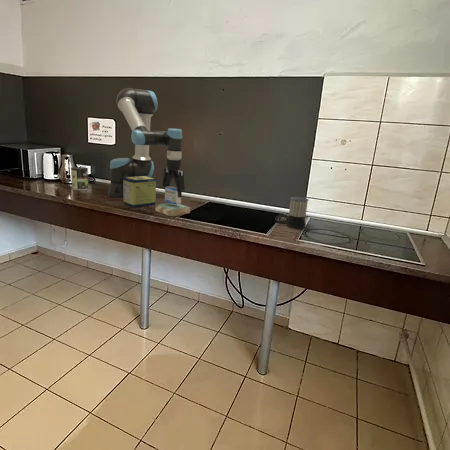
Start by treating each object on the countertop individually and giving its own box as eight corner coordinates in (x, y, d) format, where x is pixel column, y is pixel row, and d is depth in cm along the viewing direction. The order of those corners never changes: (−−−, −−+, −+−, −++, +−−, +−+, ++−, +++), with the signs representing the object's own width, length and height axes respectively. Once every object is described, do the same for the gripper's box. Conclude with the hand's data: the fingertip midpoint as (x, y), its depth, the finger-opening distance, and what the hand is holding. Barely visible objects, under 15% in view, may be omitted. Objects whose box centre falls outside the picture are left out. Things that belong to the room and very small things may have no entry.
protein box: (156, 204, 195) (156, 178, 191) (133, 207, 184) (133, 180, 180) (145, 201, 202) (145, 175, 198) (122, 204, 191) (122, 177, 186)
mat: (157, 205, 180) (157, 204, 180) (173, 203, 188) (173, 202, 188) (171, 210, 173) (171, 209, 173) (187, 207, 181) (187, 206, 181)
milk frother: (304, 230, 166) (309, 201, 162) (273, 226, 169) (276, 197, 165) (304, 223, 179) (308, 196, 175) (275, 219, 182) (278, 192, 178)
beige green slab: (155, 210, 181) (155, 205, 180) (173, 207, 191) (173, 202, 190) (171, 216, 172) (171, 210, 172) (190, 213, 182) (190, 207, 181)
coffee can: (91, 188, 227) (90, 167, 223) (84, 191, 217) (83, 169, 213) (76, 187, 227) (75, 166, 223) (69, 189, 217) (67, 168, 213)
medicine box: (164, 202, 180) (164, 186, 178) (169, 201, 184) (169, 185, 181) (176, 204, 177) (176, 188, 174) (181, 203, 180) (181, 187, 178)
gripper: (155, 157, 178) (155, 198, 184) (181, 161, 164) (180, 206, 170) (167, 156, 183) (166, 196, 189) (193, 161, 169) (191, 204, 176)
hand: (172, 201), depth 180 cm, fingers closed on medicine box, 8 cm apart
